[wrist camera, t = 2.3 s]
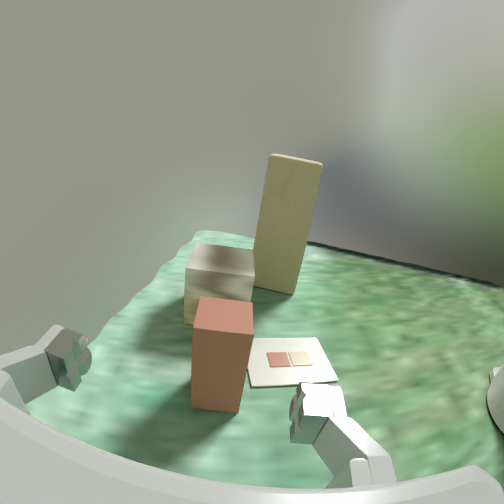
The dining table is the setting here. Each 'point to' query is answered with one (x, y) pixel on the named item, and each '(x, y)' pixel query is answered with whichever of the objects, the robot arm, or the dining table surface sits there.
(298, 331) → the dining table surface
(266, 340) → the page
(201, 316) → the tall brick
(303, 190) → the tall beige pillar
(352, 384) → the dining table surface
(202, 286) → the tower base
